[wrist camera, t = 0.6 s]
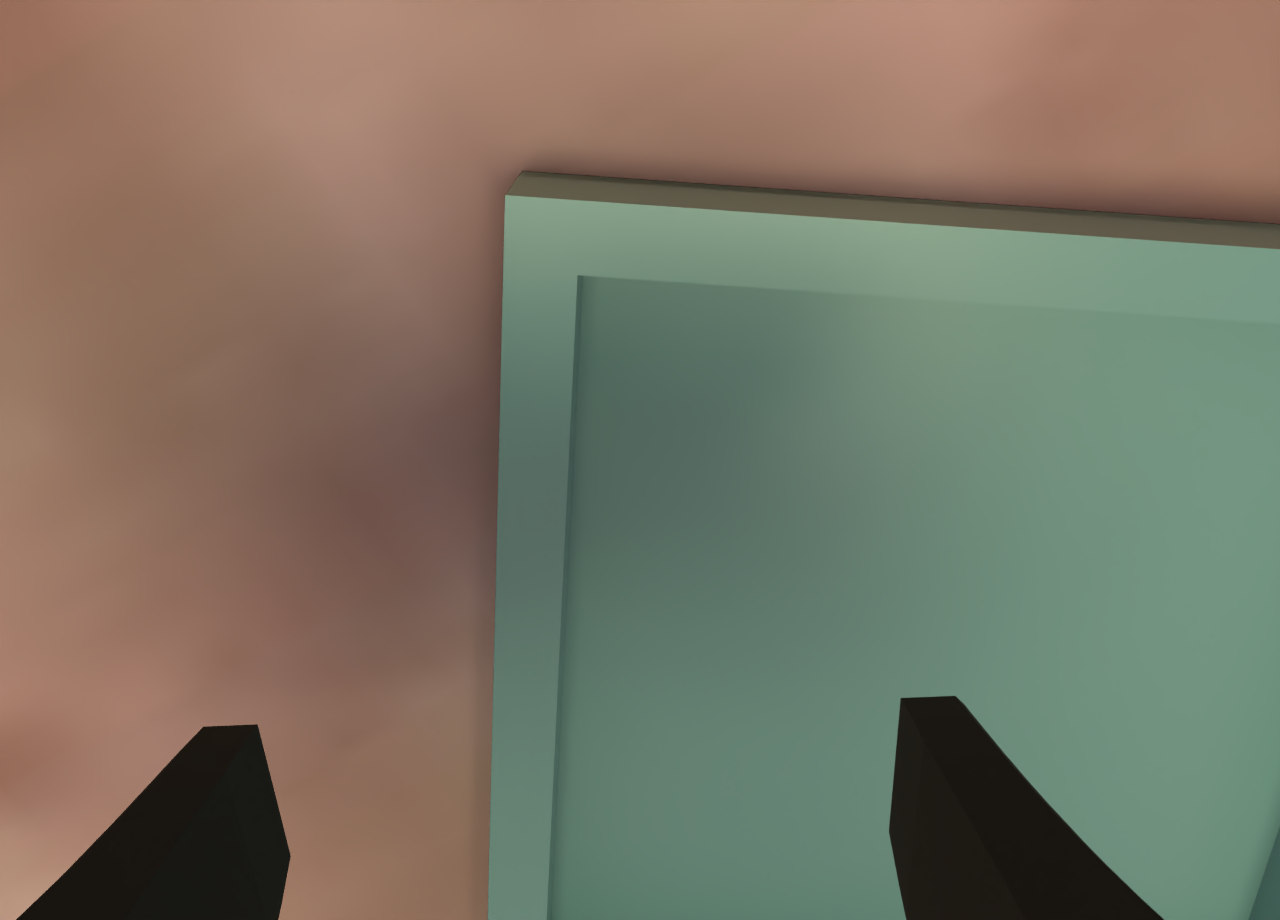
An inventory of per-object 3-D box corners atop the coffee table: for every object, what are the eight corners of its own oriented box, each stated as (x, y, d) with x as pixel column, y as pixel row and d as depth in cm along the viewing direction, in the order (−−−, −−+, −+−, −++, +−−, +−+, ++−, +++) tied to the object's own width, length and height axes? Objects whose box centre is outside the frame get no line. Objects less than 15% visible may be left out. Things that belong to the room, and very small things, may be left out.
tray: (1256, 994, 28) (1313, 1089, 26) (499, 948, 28) (484, 1040, 25) (1518, 241, 21) (1630, 273, 19) (522, 171, 21) (504, 194, 19)
